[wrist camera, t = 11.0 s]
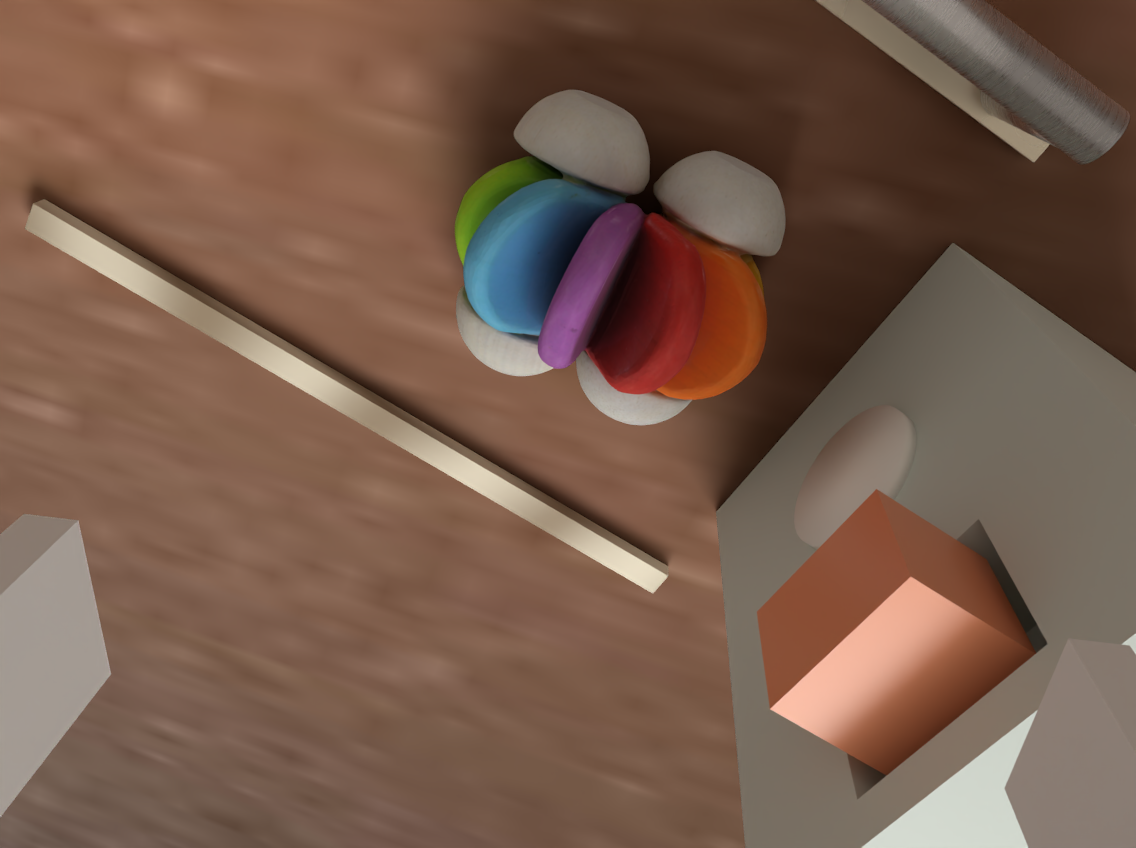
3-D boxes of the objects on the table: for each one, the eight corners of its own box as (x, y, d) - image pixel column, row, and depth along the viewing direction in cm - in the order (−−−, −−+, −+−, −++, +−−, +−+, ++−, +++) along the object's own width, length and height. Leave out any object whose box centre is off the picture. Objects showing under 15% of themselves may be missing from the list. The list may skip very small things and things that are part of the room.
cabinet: (707, 506, 33) (736, 924, 19) (942, 235, 28) (1231, 529, 13) (888, 616, 34) (1043, 1081, 20) (1144, 378, 29) (1597, 781, 15)
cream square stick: (36, 223, 30) (24, 228, 30) (44, 198, 30) (33, 203, 29) (653, 583, 35) (652, 593, 34) (668, 566, 34) (668, 575, 34)
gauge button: (756, 611, 21) (770, 709, 18) (876, 489, 19) (910, 576, 16) (860, 673, 21) (888, 776, 18) (986, 559, 19) (1037, 655, 17)
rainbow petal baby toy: (693, 413, 31) (700, 531, 25) (432, 302, 30) (369, 396, 24) (819, 187, 27) (865, 259, 21) (523, 52, 27) (478, 84, 20)
